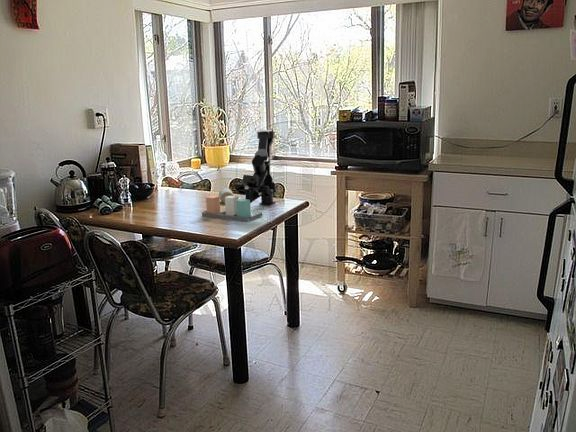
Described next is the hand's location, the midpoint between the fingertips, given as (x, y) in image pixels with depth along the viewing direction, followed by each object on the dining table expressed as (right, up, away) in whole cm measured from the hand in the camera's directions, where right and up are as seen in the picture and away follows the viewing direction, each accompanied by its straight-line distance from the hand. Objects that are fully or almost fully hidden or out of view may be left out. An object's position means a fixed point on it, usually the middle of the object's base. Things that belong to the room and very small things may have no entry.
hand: (246, 205), depth 233 cm
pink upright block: (-16, -4, +9) cm, 19 cm away
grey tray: (-7, -6, +7) cm, 12 cm away
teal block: (-1, -6, 0) cm, 6 cm away
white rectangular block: (-7, -5, +7) cm, 11 cm away
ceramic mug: (-12, +2, +37) cm, 39 cm away
